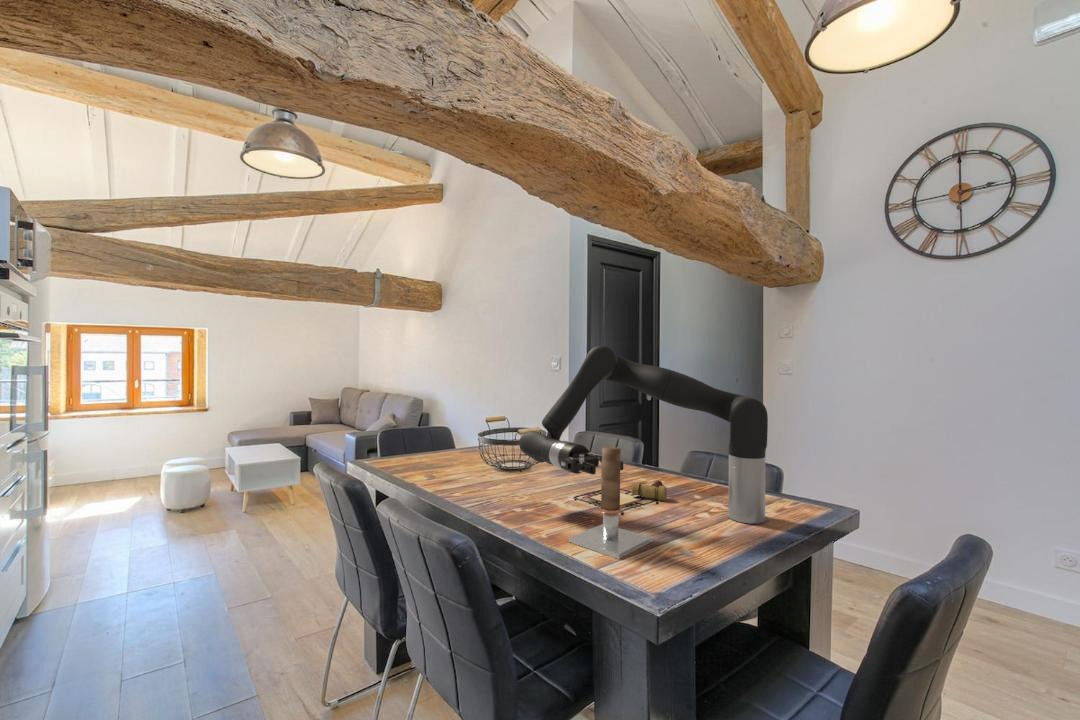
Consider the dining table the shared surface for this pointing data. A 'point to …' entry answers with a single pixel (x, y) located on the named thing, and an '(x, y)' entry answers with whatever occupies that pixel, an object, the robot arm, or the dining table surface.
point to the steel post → (611, 537)
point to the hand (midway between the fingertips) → (608, 468)
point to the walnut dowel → (610, 478)
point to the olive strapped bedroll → (650, 490)
